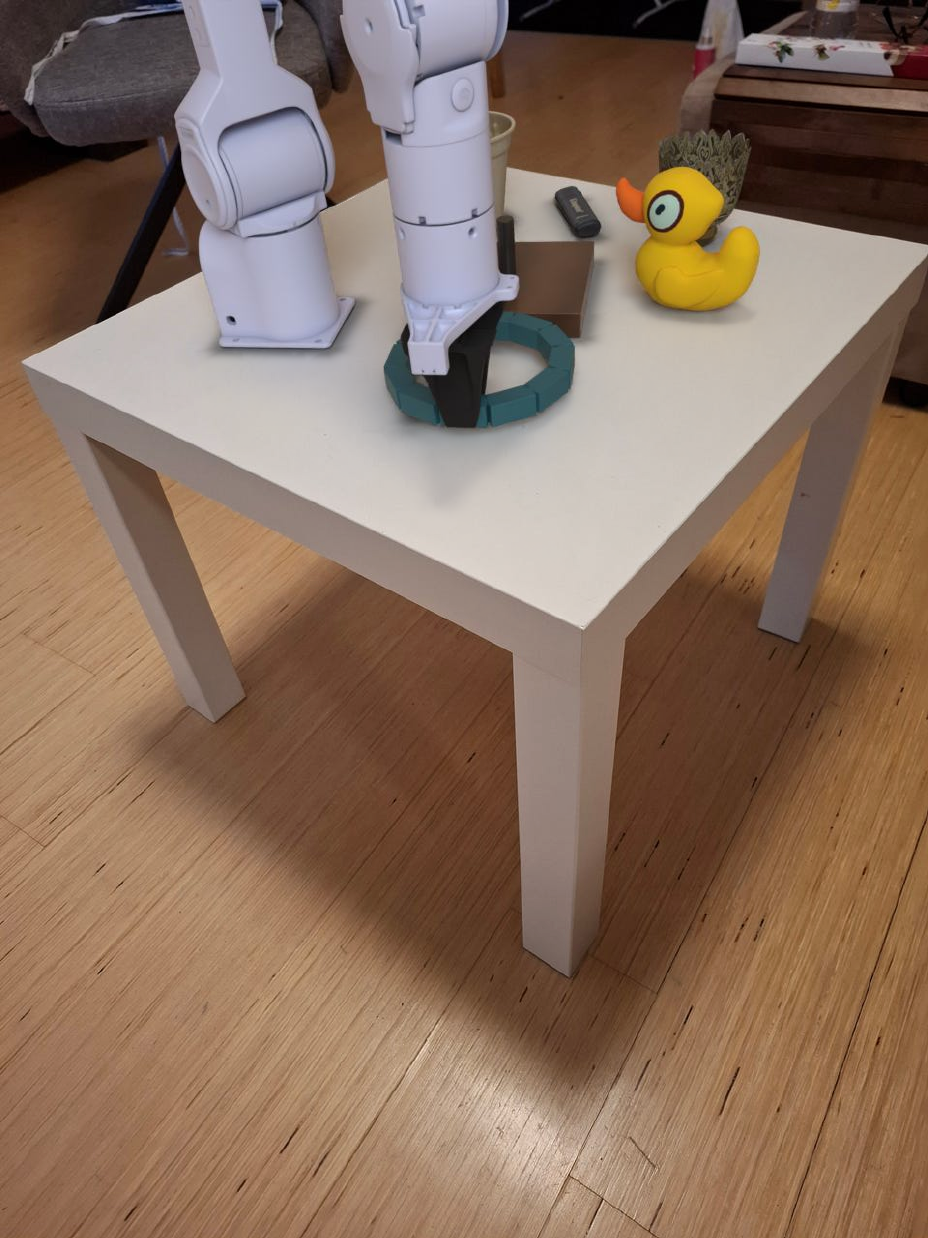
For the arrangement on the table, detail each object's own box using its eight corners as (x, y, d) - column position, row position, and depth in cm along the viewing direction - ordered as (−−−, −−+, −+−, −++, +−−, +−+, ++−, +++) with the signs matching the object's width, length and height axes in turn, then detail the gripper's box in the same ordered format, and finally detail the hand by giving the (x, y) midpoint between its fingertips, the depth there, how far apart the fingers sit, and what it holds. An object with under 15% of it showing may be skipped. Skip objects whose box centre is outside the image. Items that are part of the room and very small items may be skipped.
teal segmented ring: (368, 425, 59) (364, 404, 58) (411, 330, 68) (409, 310, 67) (562, 430, 57) (562, 409, 56) (581, 331, 66) (581, 311, 65)
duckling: (598, 306, 70) (601, 175, 63) (626, 278, 73) (632, 150, 66) (736, 333, 66) (756, 194, 59) (760, 301, 69) (782, 166, 62)
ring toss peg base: (416, 336, 70) (405, 255, 65) (448, 264, 78) (440, 188, 74) (580, 337, 67) (581, 253, 63) (594, 263, 76) (595, 184, 71)
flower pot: (402, 235, 84) (388, 137, 78) (461, 199, 89) (453, 104, 83) (480, 253, 79) (473, 151, 73) (538, 215, 84) (536, 116, 78)
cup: (738, 258, 74) (752, 157, 68) (650, 258, 76) (656, 159, 70) (737, 222, 79) (750, 126, 73) (654, 223, 81) (661, 128, 75)
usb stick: (553, 202, 86) (552, 186, 85) (579, 199, 86) (579, 182, 85) (574, 241, 80) (574, 223, 78) (603, 236, 80) (603, 219, 79)
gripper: (493, 262, 43) (507, 484, 53) (531, 157, 53) (537, 360, 63) (356, 263, 44) (394, 479, 54) (418, 160, 54) (441, 359, 64)
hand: (464, 415), depth 58 cm, fingers closed on teal segmented ring, 1 cm apart
